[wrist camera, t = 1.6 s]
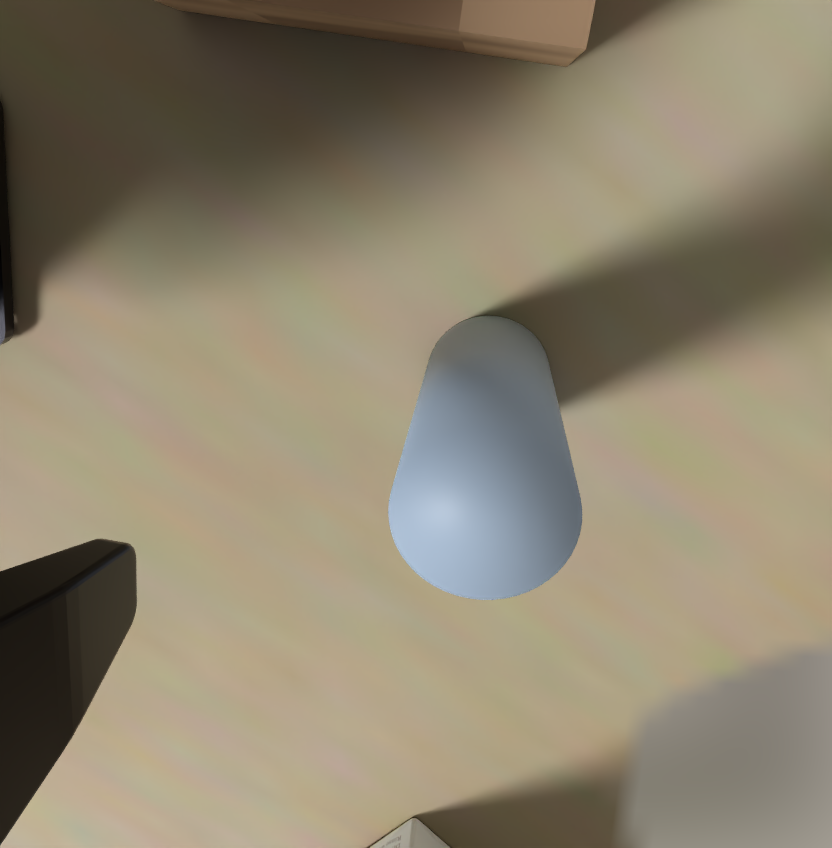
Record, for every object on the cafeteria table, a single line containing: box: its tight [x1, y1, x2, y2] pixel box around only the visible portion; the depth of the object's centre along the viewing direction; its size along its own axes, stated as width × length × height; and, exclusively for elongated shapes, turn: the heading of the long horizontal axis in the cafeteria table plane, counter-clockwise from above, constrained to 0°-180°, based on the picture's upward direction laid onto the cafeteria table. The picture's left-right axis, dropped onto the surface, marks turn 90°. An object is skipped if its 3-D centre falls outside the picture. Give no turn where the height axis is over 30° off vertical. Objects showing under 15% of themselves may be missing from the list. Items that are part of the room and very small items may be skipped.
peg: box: [388, 316, 582, 600], centre depth 17 cm, size 3×3×8 cm
